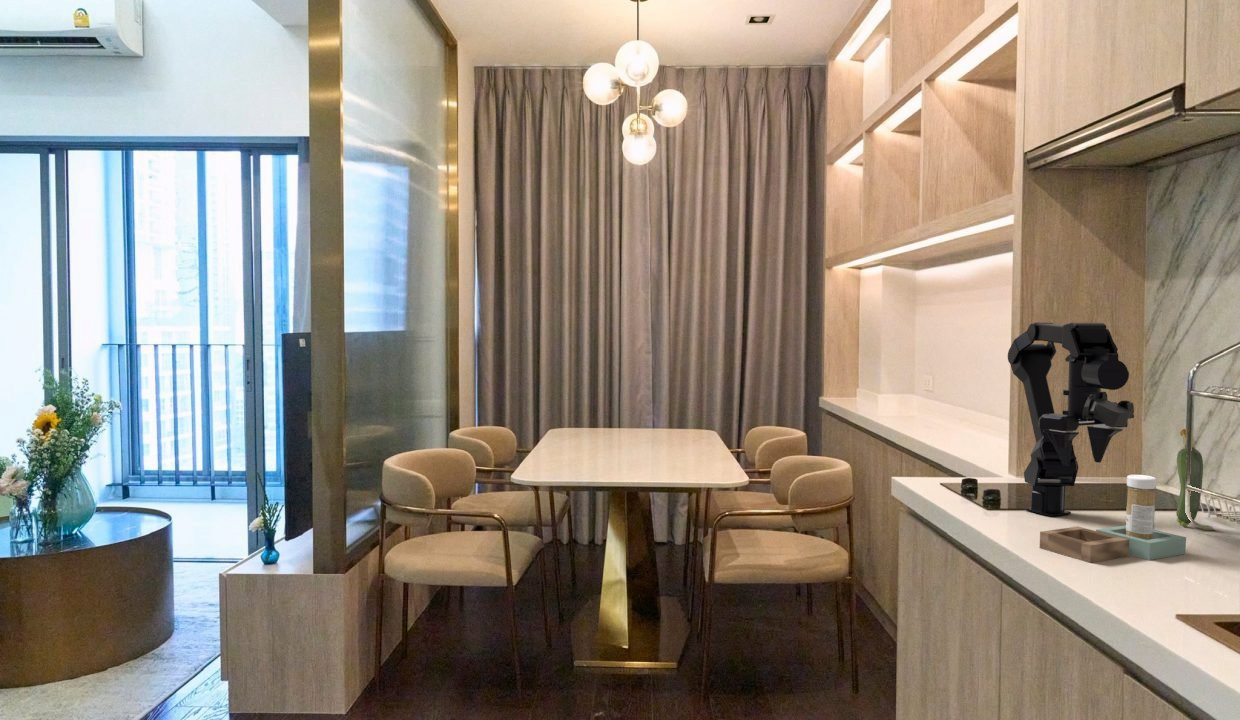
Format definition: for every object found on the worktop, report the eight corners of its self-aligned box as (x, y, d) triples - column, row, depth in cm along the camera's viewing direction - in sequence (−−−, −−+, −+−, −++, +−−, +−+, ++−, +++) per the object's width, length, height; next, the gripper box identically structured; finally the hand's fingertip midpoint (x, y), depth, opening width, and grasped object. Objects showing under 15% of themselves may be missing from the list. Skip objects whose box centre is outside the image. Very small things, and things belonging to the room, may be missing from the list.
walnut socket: (1077, 542, 157) (1077, 526, 156) (1128, 556, 147) (1129, 539, 147) (1039, 547, 152) (1040, 531, 152) (1090, 562, 143) (1090, 545, 143)
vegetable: (1199, 526, 169) (1203, 428, 168) (1201, 531, 165) (1205, 430, 164) (1173, 523, 171) (1177, 426, 170) (1174, 528, 168) (1178, 429, 167)
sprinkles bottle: (1126, 544, 155) (1129, 472, 154) (1155, 549, 152) (1158, 475, 152) (1122, 549, 152) (1125, 476, 151) (1152, 554, 149) (1154, 479, 148)
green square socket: (1131, 540, 158) (1131, 524, 158) (1185, 553, 149) (1186, 537, 149) (1095, 545, 154) (1096, 529, 154) (1149, 560, 145) (1149, 543, 145)
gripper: (1090, 390, 154) (1087, 474, 155) (1155, 387, 162) (1152, 467, 163) (1037, 385, 165) (1035, 464, 165) (1101, 383, 172) (1099, 458, 173)
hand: (1082, 463), depth 166 cm, fingers open, 9 cm apart
